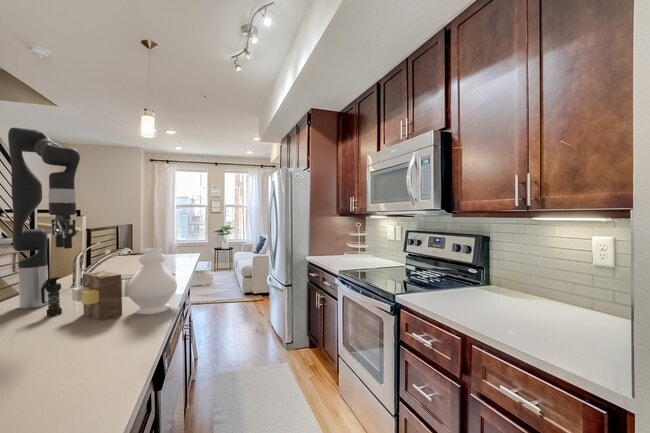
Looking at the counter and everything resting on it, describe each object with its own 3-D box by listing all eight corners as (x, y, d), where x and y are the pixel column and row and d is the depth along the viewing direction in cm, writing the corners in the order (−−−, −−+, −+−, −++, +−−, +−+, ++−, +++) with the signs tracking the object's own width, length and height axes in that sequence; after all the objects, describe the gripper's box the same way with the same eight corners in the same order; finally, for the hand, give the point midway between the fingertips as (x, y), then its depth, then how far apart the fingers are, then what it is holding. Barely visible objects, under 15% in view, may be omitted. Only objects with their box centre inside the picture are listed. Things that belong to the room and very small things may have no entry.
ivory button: (72, 300, 119) (72, 288, 119) (90, 296, 124) (90, 285, 124) (77, 301, 117) (77, 290, 116) (95, 297, 122) (95, 286, 122)
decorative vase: (177, 312, 124) (176, 249, 123) (125, 319, 116) (123, 253, 116) (177, 300, 140) (175, 245, 139) (130, 306, 132) (129, 248, 132)
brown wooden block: (83, 314, 123) (82, 273, 123) (103, 309, 129) (102, 270, 129) (101, 320, 115) (100, 277, 115) (122, 315, 121) (121, 273, 121)
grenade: (48, 318, 119) (47, 279, 118) (36, 317, 120) (34, 278, 119) (66, 312, 125) (64, 275, 125) (53, 311, 126) (52, 275, 126)
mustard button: (81, 303, 115) (81, 291, 115) (100, 299, 120) (99, 287, 120) (87, 304, 112) (86, 292, 112) (105, 300, 118) (105, 289, 117)
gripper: (41, 202, 113) (42, 247, 113) (57, 201, 105) (59, 250, 106) (66, 202, 119) (68, 245, 120) (83, 201, 112) (85, 247, 112)
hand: (63, 247), depth 113 cm, fingers open, 6 cm apart
